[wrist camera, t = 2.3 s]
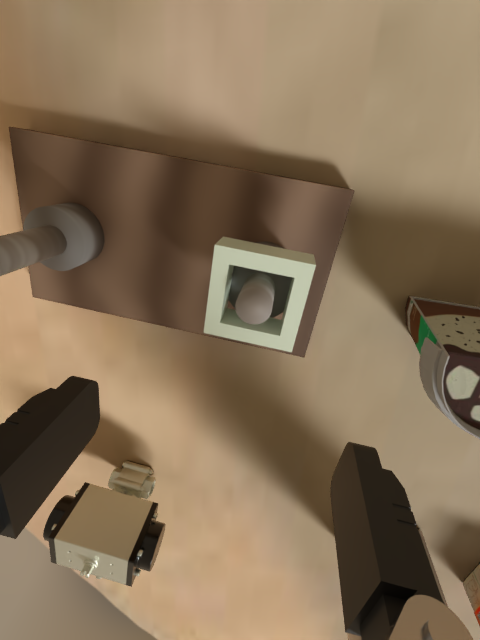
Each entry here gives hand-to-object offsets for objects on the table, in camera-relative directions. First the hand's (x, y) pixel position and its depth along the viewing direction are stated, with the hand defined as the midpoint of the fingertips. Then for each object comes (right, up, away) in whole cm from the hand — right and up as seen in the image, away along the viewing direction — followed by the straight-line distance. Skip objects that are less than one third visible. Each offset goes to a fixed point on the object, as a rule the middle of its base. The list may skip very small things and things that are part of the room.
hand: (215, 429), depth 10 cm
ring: (+2, +6, +12) cm, 13 cm away
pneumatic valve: (-13, -17, +32) cm, 38 cm away
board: (-5, +10, +18) cm, 21 cm away
